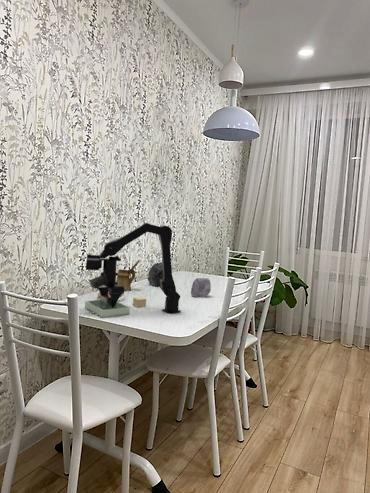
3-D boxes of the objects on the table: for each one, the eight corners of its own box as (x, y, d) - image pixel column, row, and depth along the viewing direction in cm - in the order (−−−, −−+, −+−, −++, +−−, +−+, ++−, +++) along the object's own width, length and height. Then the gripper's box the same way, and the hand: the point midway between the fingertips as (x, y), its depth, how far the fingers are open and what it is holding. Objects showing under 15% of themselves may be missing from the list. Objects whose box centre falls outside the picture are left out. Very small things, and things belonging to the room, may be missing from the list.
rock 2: (205, 295, 218) (206, 277, 217) (210, 297, 213) (211, 279, 212) (189, 296, 213) (190, 277, 212) (194, 298, 209) (195, 279, 208)
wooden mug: (136, 292, 214) (138, 260, 212) (112, 290, 215) (114, 258, 213) (139, 289, 223) (141, 258, 221) (117, 287, 224) (118, 257, 222)
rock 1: (170, 288, 231) (172, 264, 229) (147, 287, 229) (149, 263, 227) (168, 283, 247) (169, 260, 246) (146, 282, 245) (148, 259, 244)
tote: (129, 314, 168) (129, 307, 168) (101, 318, 160) (102, 310, 160) (110, 305, 182) (111, 298, 182) (84, 307, 174) (85, 301, 174)
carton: (145, 307, 183) (146, 299, 183) (137, 308, 181) (138, 299, 180) (141, 305, 187) (141, 297, 187) (132, 305, 184) (133, 297, 184)
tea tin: (116, 310, 171) (117, 296, 170) (105, 311, 168) (105, 297, 167) (110, 307, 175) (111, 294, 175) (99, 309, 172) (100, 295, 171)
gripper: (84, 268, 172) (82, 302, 174) (101, 274, 158) (100, 312, 159) (106, 267, 179) (105, 299, 181) (125, 273, 164) (124, 309, 166)
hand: (108, 305), depth 171 cm, fingers open, 9 cm apart
